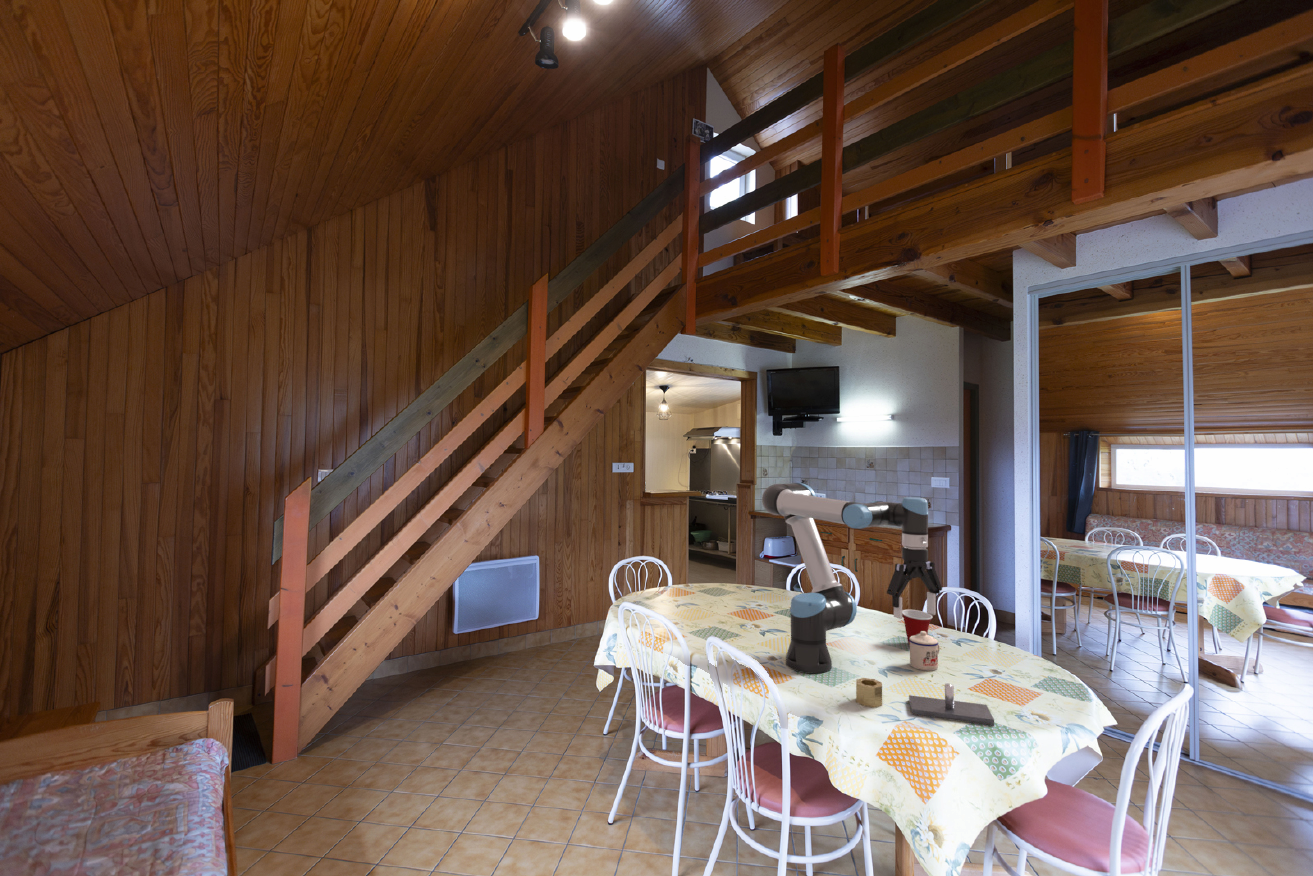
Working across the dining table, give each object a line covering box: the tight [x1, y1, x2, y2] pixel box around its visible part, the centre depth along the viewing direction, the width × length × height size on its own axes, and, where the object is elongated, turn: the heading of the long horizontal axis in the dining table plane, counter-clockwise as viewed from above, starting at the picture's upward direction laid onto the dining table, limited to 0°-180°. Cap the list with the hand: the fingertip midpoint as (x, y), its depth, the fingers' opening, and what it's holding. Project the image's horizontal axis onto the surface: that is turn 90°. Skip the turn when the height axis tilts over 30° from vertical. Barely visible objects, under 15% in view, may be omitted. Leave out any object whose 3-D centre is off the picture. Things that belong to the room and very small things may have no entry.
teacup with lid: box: [909, 631, 940, 672], centre depth 200 cm, size 12×9×12 cm
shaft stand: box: [908, 683, 995, 726], centre depth 164 cm, size 20×10×8 cm, turn 71°
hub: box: [855, 677, 883, 708], centre depth 170 cm, size 7×7×6 cm
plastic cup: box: [902, 609, 934, 646], centre depth 222 cm, size 11×11×12 cm
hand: (914, 615), depth 184 cm, fingers open, 13 cm apart
